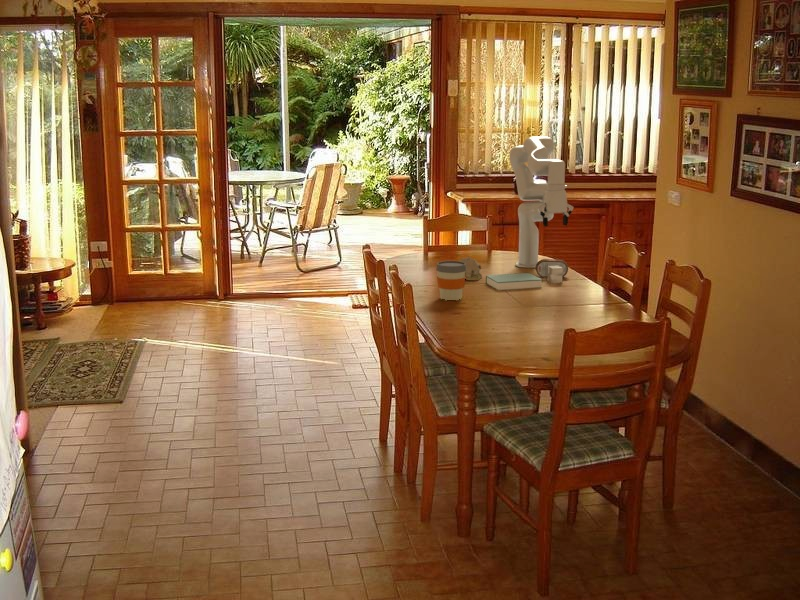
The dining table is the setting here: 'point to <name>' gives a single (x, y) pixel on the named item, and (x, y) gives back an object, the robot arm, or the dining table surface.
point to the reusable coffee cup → (451, 279)
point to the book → (513, 281)
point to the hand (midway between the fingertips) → (555, 225)
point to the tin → (544, 263)
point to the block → (555, 274)
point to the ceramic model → (472, 269)
